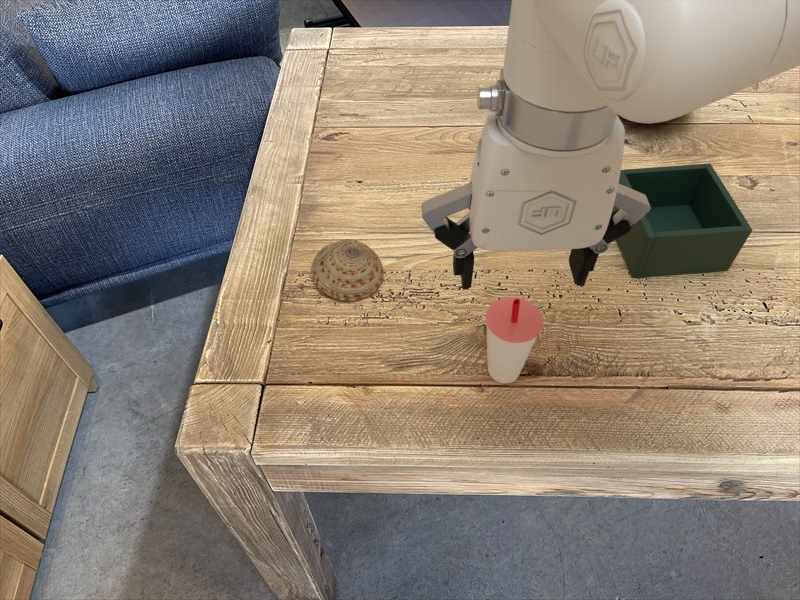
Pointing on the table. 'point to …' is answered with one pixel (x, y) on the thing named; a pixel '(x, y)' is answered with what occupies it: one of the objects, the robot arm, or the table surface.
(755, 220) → the table surface
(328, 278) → the seashell
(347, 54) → the table surface
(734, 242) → the bin
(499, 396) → the table surface
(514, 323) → the cup
